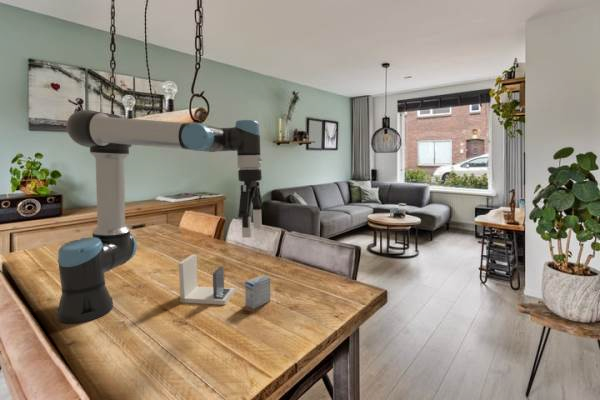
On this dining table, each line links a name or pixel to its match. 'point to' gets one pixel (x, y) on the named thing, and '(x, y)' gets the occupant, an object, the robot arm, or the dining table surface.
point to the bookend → (219, 284)
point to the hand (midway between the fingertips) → (252, 232)
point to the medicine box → (257, 291)
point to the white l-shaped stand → (196, 285)
